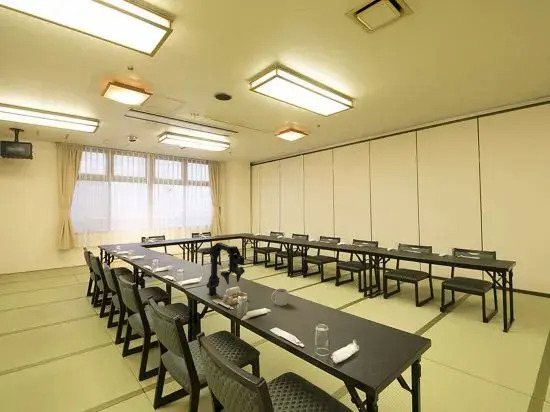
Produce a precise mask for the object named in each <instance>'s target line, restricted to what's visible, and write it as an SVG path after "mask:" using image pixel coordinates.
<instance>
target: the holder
mask: <svg viewBox="0 0 550 412" xmlns="http://www.w3.org/2000/svg"><path fill="white" fill-rule="evenodd" d="M238 296H247V297H248V293H246V292H242V291H241V290H240V291H238V295H234V296H230V297H228V296H226V295H225V294H223V295H222V302H223V301H224V302H223V303H225V302H226V303H225V304H227V303H228V304H227V305H230V306H232V305H236V304H238V303H237V300H238V299H237V297H238Z"/></svg>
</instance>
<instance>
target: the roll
mask: <svg viewBox="0 0 550 412" xmlns="http://www.w3.org/2000/svg"><path fill="white" fill-rule="evenodd" d="M238 291H241V289H240V287H239V286H234V287H230V288H226V290H225V294H226V295H227V296H228V297H229V296H232V295H236V294H238Z"/></svg>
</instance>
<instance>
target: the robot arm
mask: <svg viewBox="0 0 550 412" xmlns="http://www.w3.org/2000/svg"><path fill="white" fill-rule="evenodd" d="M222 250H223V251H225V252H226V253H227V254H228V255H227V257H228V262H229V263H228V269H227V270H225V271H224V270H223V271H221V272H220V276H221V277H223V278H224V281H225V283H226V284H227V286H229V284H230V275H233V274H235V275H236V277H235V278H236V283H239V282H240V279H241V276H243V274H245V272H246V271H245V269H244V267H243V266H242V265H244V263H245V259H244V257H243V255H242V254H241V252H240V250H239V248H238V246H236V245H228V244H225V243H223V242H216V243H215V244H214V245H212V246H211V247H210V248H209V250H208V251H209V256H210V258H211V261H210V263H211V264H210V276H209V278H208V282H207V284H205V285H206V288H207V289H208V293H207V295H208V296H211V297H213V296H217V295H218V293H217V287H219V285H220V277H219V276H218V262H219V261H218V258H219V256H220V254H221V251H222Z"/></svg>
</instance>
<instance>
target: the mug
mask: <svg viewBox="0 0 550 412" xmlns="http://www.w3.org/2000/svg"><path fill="white" fill-rule="evenodd" d="M274 295H275V298H274V299H275V300H274V299H273V296H274ZM270 298H271V301H272V302H273V303H275V305H277V306H280V307H282V306H286V305H288V289H285V288H277V289H275V291H274V292H272V294H271V297H270Z"/></svg>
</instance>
